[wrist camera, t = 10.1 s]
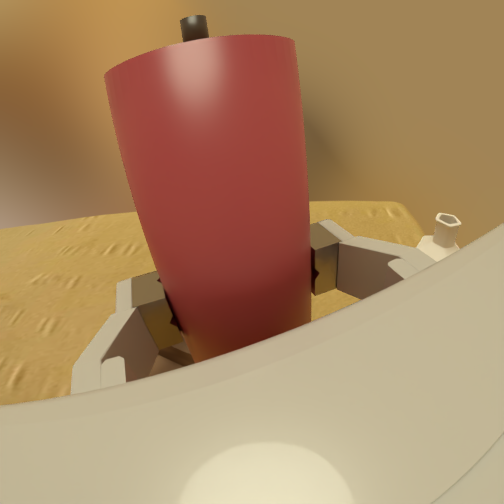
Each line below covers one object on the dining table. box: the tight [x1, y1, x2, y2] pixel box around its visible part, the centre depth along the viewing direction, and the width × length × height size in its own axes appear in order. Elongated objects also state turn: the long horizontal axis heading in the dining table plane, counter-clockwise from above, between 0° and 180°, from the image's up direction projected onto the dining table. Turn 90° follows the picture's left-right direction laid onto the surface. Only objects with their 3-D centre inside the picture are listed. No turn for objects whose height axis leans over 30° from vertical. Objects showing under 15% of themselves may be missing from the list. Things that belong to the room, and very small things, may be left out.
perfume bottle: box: [416, 213, 461, 262], centre depth 22 cm, size 5×4×15 cm
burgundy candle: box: [104, 15, 311, 363], centre depth 9 cm, size 4×4×14 cm
